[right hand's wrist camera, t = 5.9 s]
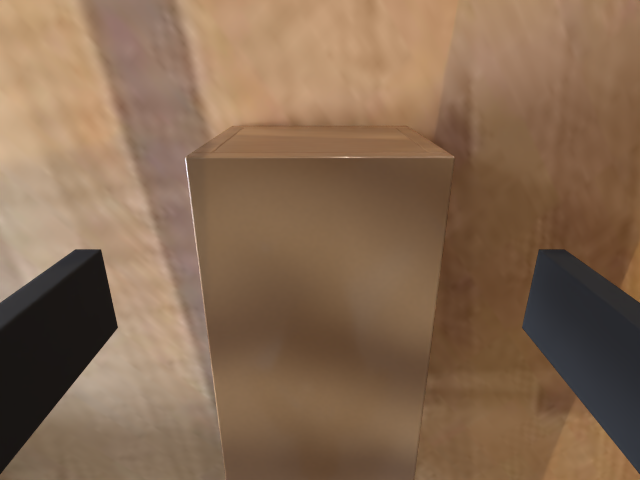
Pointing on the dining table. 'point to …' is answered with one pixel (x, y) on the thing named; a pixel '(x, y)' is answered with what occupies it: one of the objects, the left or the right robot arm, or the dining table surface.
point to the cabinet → (319, 294)
